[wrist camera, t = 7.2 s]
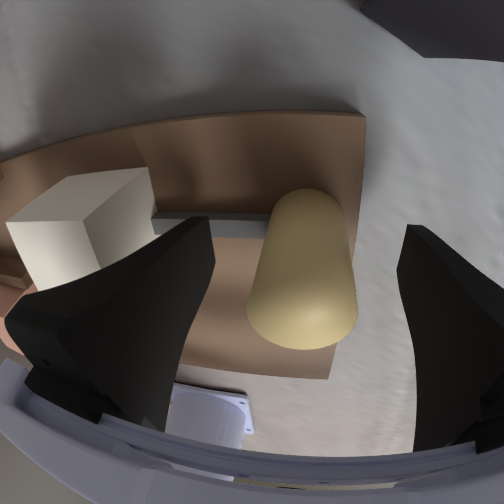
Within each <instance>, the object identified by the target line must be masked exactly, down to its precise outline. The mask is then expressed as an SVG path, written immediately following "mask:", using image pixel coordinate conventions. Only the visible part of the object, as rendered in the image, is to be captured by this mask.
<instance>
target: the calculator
mask: <svg viewBox="0 0 504 504" xmlns="http://www.w3.org/2000/svg"><path fill="white" fill-rule="evenodd" d="M361 12H362V14H364V15H365V16H367V17H368V18H370V19H371V20H373V21H375V22H376V23H378V24H379V25H381V26H382V27H383V28H385V29H386V30H388V31H389V32H391V33H392V34H393V35H395V36H396V37H398V38H399V39H400V40H402V41H403V42H404V43H406V44H407V45H408V46H409V47H411V48H412V49H413V50H415V51H416V52H417V53H418V54H420V55H421V56H422V57H424V58H459V59H476V60H488V61H497V62H504V0H367V1H366V2H365V4H364V5H363V6H362V8H361Z"/></svg>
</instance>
